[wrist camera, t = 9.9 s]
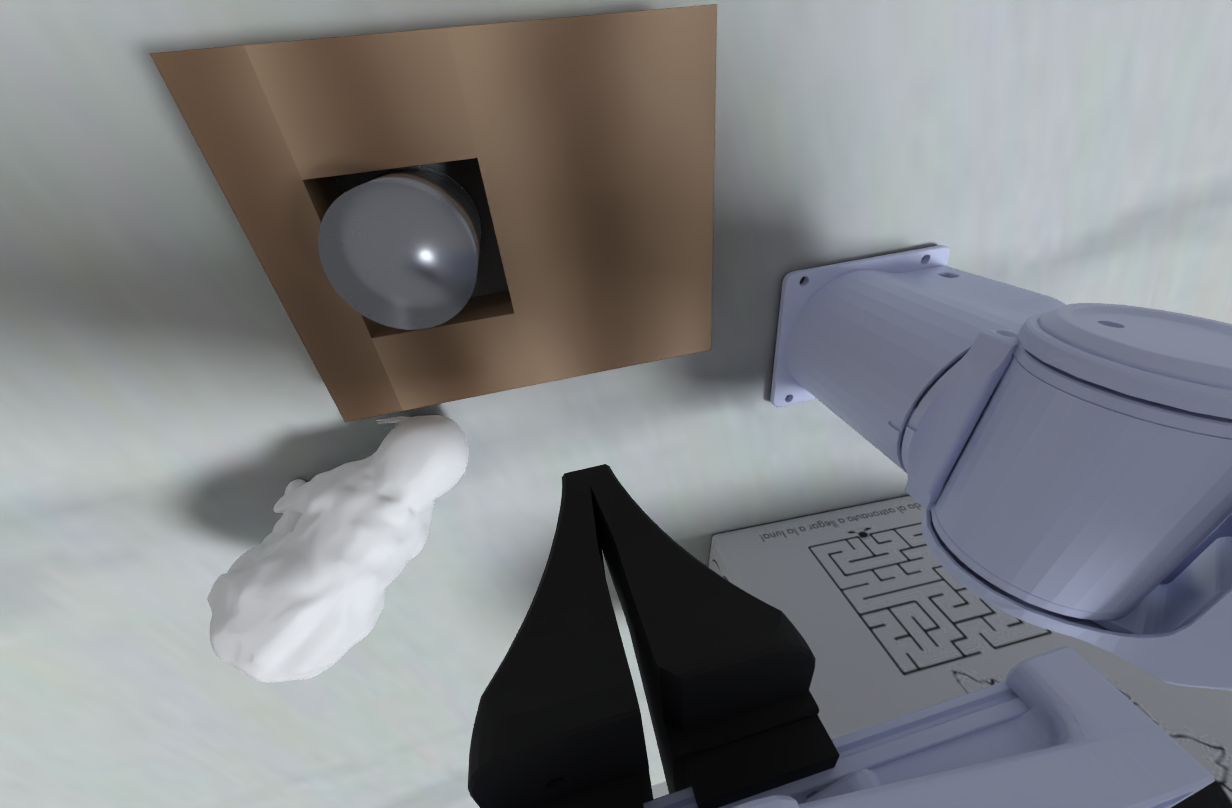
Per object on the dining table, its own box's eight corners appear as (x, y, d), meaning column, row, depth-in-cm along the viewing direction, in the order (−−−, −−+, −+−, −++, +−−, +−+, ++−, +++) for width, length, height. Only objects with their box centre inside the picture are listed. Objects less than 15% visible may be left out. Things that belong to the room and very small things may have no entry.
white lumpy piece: (142, 685, 15) (369, 453, 14) (245, 520, 23) (401, 357, 21) (319, 721, 19) (517, 537, 17) (360, 568, 26) (501, 429, 25)
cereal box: (702, 598, 36) (984, 1241, 15) (710, 533, 32) (1110, 1285, 11) (928, 546, 40) (1403, 1002, 19) (961, 483, 36) (1609, 971, 15)
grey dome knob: (474, 168, 17) (467, 182, 12) (486, 276, 19) (484, 326, 14) (355, 164, 16) (295, 180, 11) (383, 278, 18) (342, 333, 14)
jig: (683, 23, 16) (716, 3, 14) (687, 326, 23) (711, 349, 20) (211, 67, 14) (149, 53, 12) (363, 387, 21) (345, 422, 18)
